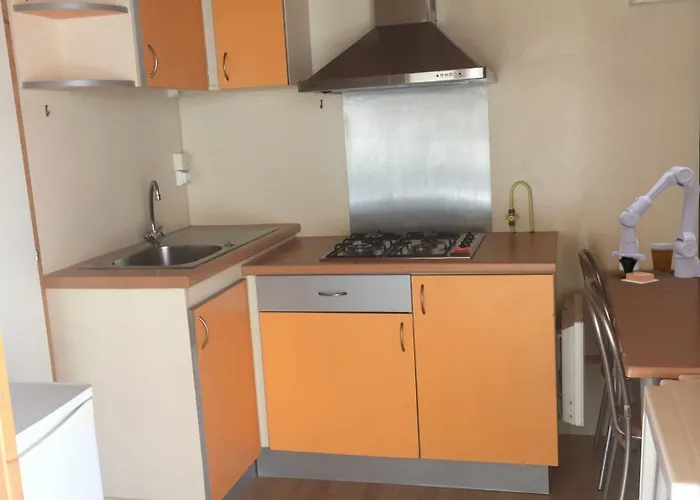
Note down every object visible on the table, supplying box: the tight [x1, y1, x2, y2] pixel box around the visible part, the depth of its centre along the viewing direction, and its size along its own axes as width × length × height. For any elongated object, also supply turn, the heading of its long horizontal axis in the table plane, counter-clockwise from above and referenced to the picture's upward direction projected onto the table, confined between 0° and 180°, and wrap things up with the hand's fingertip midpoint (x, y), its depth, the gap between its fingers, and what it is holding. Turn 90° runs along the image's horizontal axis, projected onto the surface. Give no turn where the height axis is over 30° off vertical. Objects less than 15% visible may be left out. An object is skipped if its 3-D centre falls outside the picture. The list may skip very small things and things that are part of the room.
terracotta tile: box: [625, 270, 655, 283], centre depth 289 cm, size 6×8×2 cm
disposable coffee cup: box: [649, 241, 674, 274], centre depth 309 cm, size 10×10×12 cm
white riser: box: [621, 278, 659, 284], centre depth 289 cm, size 10×10×2 cm
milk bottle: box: [618, 237, 640, 272], centre depth 312 cm, size 8×8×20 cm
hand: (628, 276), depth 293 cm, fingers closed
